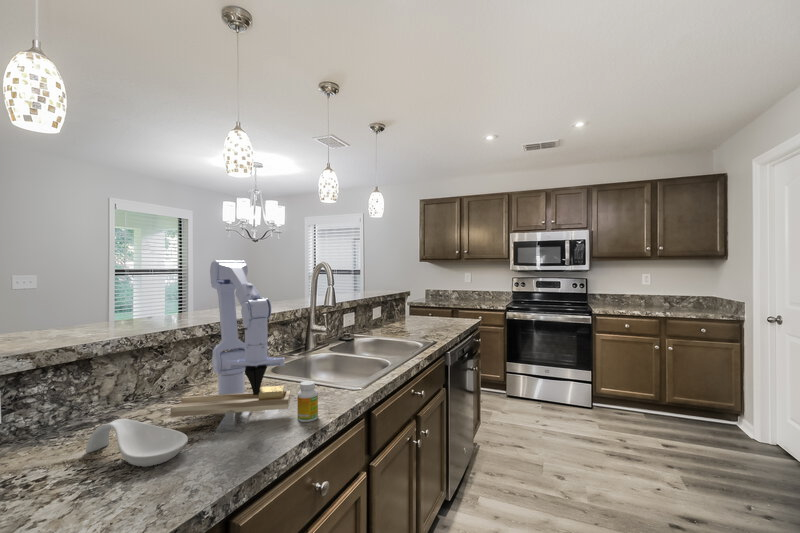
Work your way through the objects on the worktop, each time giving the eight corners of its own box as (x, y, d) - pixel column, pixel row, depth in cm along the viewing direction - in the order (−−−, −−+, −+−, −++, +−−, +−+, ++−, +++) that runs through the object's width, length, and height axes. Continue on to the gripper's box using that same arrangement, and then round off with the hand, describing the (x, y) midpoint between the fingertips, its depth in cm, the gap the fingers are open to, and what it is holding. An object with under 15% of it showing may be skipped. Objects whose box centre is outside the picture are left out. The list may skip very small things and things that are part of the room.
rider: (261, 397, 101) (261, 386, 101) (284, 396, 102) (284, 385, 102) (258, 404, 96) (258, 392, 96) (282, 402, 97) (282, 391, 97)
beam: (182, 407, 98) (182, 396, 98) (290, 400, 104) (290, 389, 104) (170, 419, 90) (170, 407, 90) (287, 411, 96) (288, 399, 96)
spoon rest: (200, 450, 82) (200, 418, 82) (151, 479, 70) (151, 442, 71) (120, 438, 88) (121, 409, 88) (64, 463, 77) (65, 429, 77)
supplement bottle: (312, 423, 96) (312, 386, 96) (293, 421, 97) (293, 385, 97) (321, 415, 101) (320, 380, 101) (303, 414, 102) (303, 379, 102)
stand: (228, 414, 102) (228, 398, 102) (251, 412, 103) (251, 396, 103) (216, 433, 90) (216, 414, 90) (242, 430, 91) (241, 412, 92)
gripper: (223, 347, 93) (223, 401, 93) (282, 344, 96) (282, 396, 96) (230, 342, 100) (230, 392, 99) (285, 340, 103) (285, 388, 103)
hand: (256, 393), depth 98 cm, fingers closed
